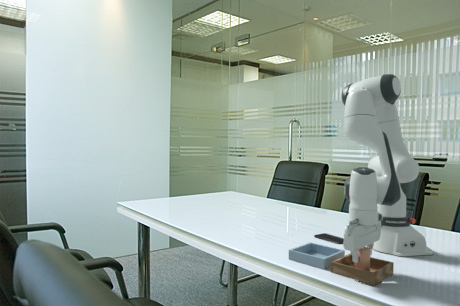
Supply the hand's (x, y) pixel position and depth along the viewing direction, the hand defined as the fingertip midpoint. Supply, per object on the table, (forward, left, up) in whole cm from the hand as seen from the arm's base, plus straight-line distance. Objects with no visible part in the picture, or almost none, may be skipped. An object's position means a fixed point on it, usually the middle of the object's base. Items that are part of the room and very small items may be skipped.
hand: (362, 258), depth 116 cm
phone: (-2, -43, -6) cm, 43 cm away
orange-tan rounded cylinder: (0, 0, -5) cm, 5 cm away
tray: (0, 0, -5) cm, 5 cm away
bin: (+12, -13, -5) cm, 18 cm away
